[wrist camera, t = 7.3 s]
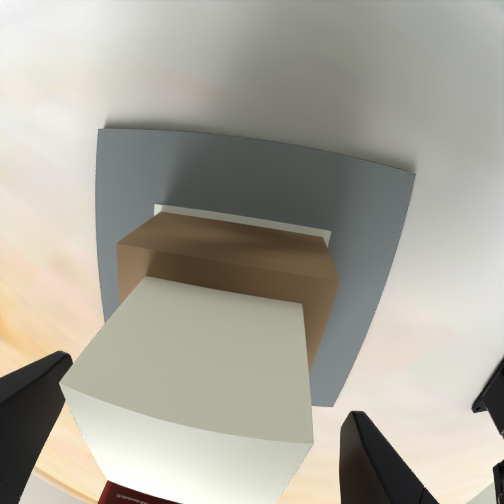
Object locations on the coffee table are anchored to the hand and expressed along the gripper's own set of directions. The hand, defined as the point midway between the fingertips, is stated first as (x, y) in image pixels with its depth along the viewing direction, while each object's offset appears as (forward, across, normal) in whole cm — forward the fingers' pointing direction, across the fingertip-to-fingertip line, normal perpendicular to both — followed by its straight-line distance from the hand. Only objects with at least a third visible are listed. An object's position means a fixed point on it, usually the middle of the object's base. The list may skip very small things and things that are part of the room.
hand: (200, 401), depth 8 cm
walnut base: (+6, 0, 0) cm, 6 cm away
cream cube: (+2, 0, 0) cm, 2 cm away
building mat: (+7, 0, 0) cm, 7 cm away
